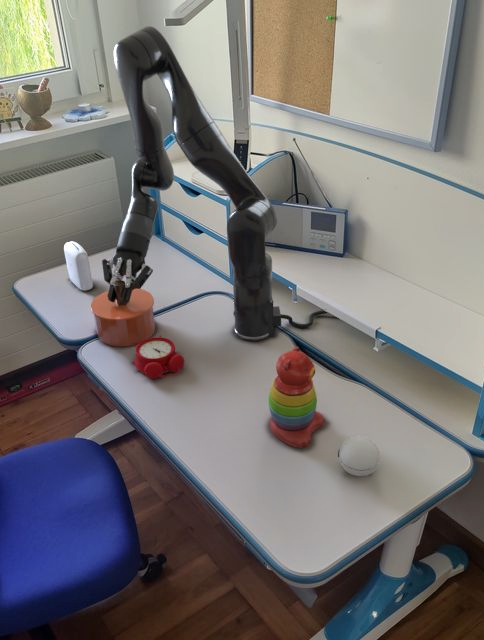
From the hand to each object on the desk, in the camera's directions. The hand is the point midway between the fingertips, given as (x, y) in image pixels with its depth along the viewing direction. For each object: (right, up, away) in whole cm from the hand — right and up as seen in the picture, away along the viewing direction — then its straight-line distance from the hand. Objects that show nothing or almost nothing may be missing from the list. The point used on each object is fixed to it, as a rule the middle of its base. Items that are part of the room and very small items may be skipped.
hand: (117, 302), depth 160 cm
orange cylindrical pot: (+1, -7, +7) cm, 10 cm away
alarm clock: (+11, -16, -7) cm, 20 cm away
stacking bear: (+39, -27, -27) cm, 55 cm away
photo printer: (-15, +7, +29) cm, 33 cm away
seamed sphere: (+49, -35, -39) cm, 71 cm away
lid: (+1, 0, +3) cm, 3 cm away
